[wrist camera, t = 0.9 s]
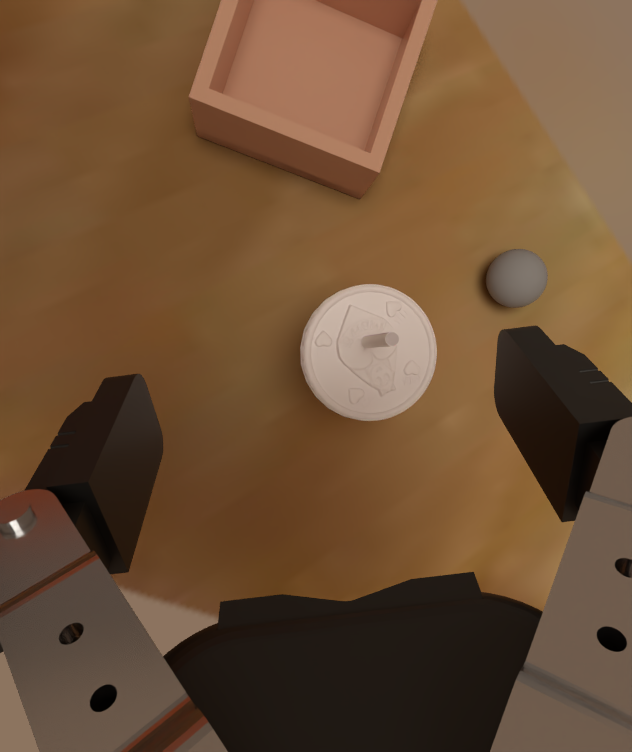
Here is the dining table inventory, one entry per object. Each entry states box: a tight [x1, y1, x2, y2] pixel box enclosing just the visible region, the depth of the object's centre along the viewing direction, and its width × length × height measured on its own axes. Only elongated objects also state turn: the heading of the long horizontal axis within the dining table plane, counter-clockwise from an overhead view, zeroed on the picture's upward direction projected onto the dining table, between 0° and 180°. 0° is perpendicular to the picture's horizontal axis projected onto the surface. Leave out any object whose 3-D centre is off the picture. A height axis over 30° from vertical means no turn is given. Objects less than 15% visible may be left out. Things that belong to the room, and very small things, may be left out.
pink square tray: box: [189, 0, 437, 199], centre depth 31 cm, size 11×11×5 cm
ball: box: [486, 249, 548, 308], centre depth 34 cm, size 4×4×4 cm
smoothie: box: [300, 284, 437, 421], centre depth 27 cm, size 6×6×14 cm
